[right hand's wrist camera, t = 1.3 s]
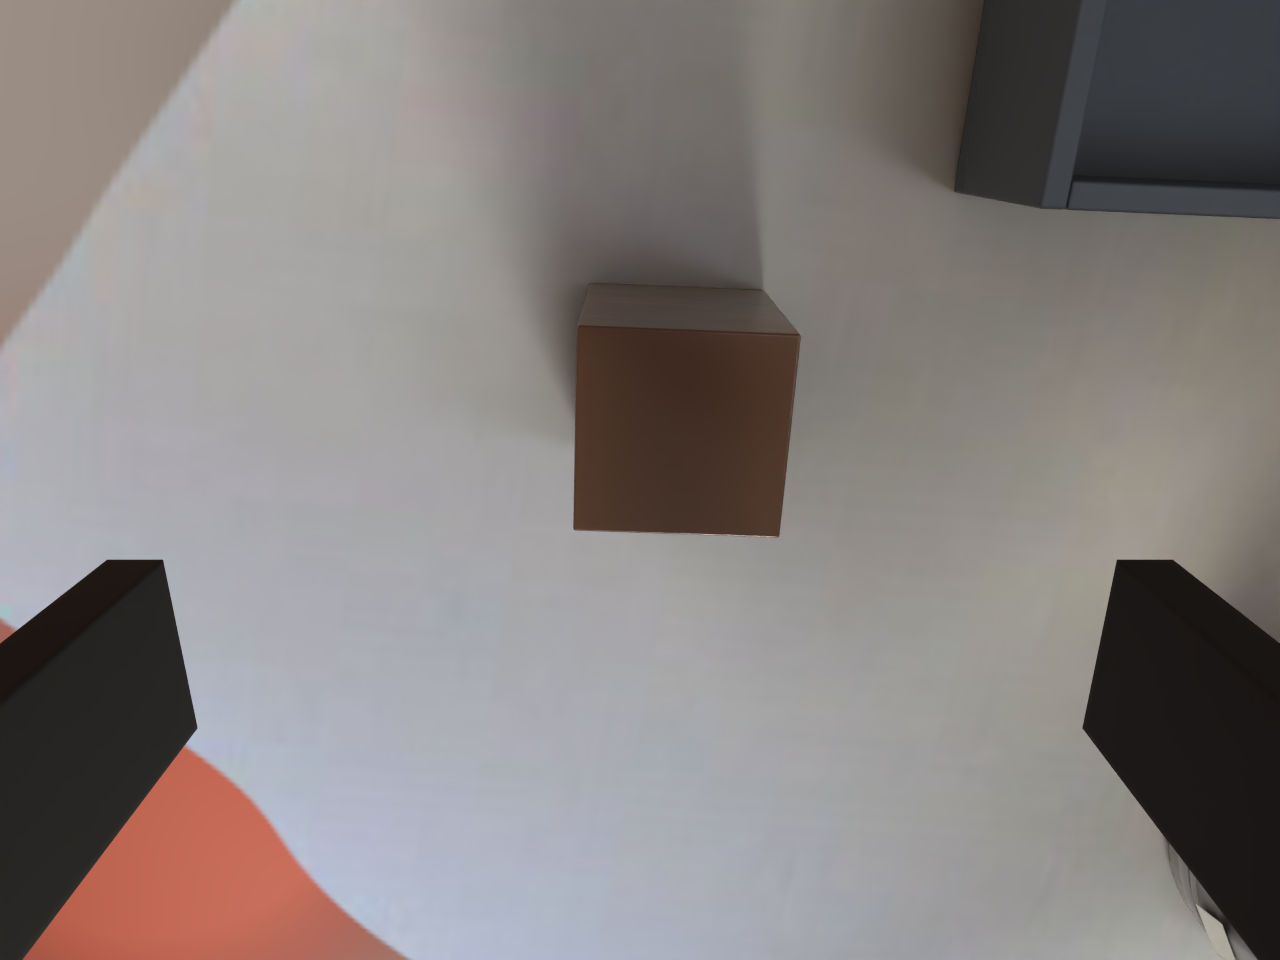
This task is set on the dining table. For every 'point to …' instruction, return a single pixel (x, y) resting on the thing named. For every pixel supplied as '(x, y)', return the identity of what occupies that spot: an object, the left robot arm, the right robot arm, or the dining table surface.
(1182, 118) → the scoop
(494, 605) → the dining table surface
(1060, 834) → the dining table surface
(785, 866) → the dining table surface
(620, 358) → the walnut block
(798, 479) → the dining table surface
